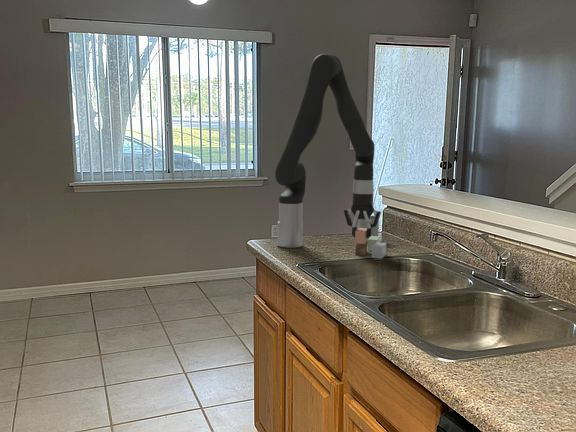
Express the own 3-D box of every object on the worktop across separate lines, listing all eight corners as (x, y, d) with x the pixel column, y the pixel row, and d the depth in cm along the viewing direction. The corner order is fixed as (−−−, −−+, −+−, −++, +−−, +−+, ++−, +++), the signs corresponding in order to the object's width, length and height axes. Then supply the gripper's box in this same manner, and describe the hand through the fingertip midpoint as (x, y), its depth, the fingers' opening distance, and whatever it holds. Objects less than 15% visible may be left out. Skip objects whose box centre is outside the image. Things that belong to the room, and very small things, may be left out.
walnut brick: (355, 255, 205) (355, 243, 205) (357, 251, 212) (358, 239, 211) (364, 255, 205) (365, 243, 204) (367, 251, 211) (367, 240, 211)
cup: (353, 239, 233) (354, 216, 231) (370, 238, 236) (371, 214, 234) (364, 243, 225) (365, 219, 223) (382, 242, 228) (382, 218, 227)
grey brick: (371, 258, 202) (372, 245, 201) (376, 254, 208) (377, 242, 207) (381, 258, 200) (381, 246, 200) (385, 254, 207) (386, 243, 206)
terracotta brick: (354, 243, 205) (355, 231, 204) (358, 239, 212) (359, 227, 211) (364, 243, 204) (364, 231, 203) (368, 240, 210) (368, 228, 210)
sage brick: (367, 250, 213) (367, 239, 212) (370, 247, 220) (371, 235, 219) (376, 251, 212) (377, 239, 211) (379, 247, 219) (379, 236, 218)
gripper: (341, 192, 203) (340, 238, 206) (380, 194, 199) (379, 240, 202) (346, 189, 210) (345, 234, 213) (384, 191, 206) (382, 237, 209)
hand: (361, 237), depth 207 cm, fingers open, 4 cm apart
